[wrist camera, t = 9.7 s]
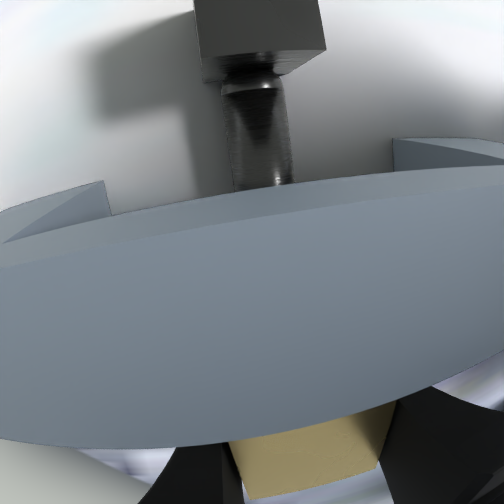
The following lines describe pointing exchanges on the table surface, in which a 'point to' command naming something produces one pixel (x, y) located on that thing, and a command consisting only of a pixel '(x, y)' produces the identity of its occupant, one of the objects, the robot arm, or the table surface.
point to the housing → (249, 302)
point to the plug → (268, 175)
